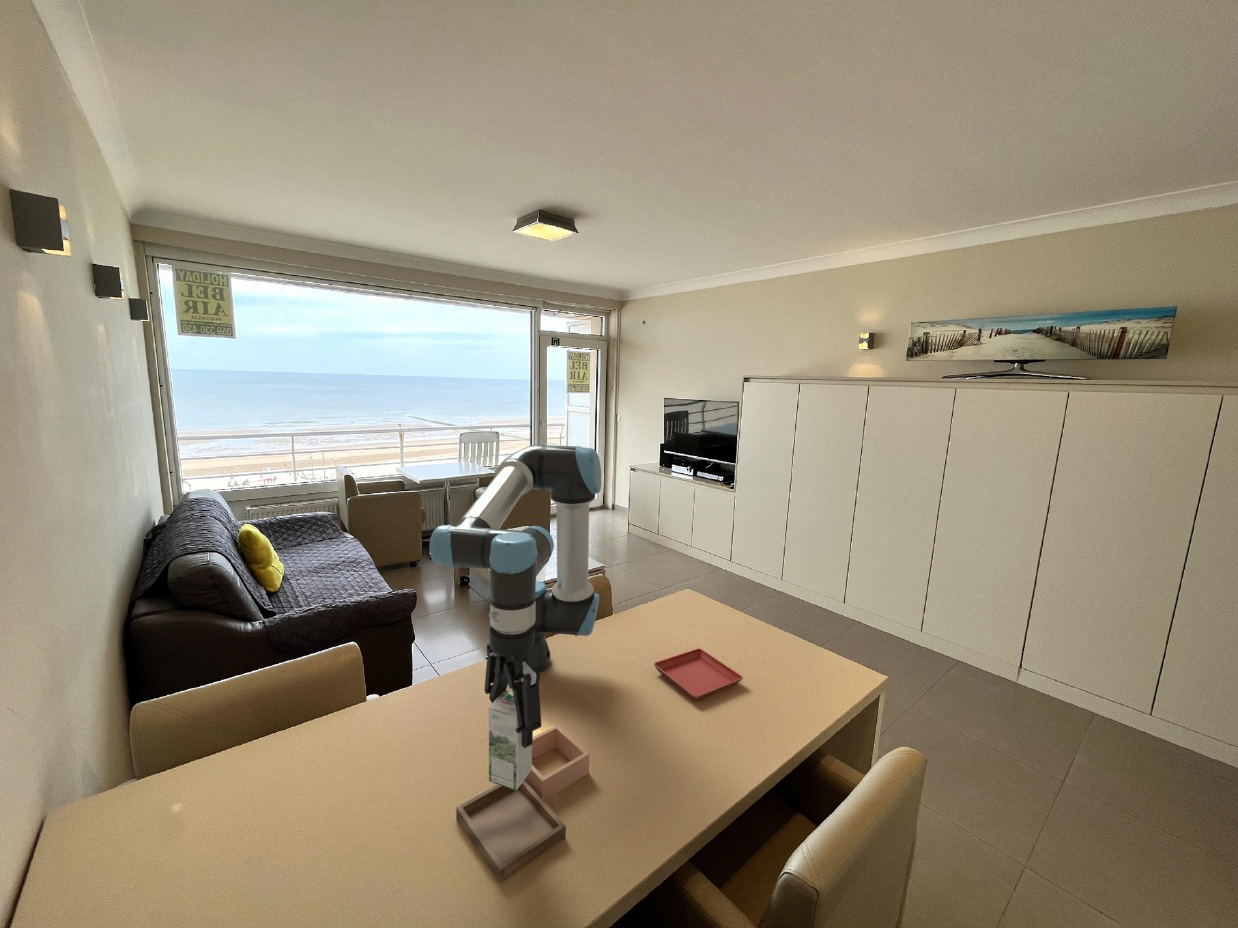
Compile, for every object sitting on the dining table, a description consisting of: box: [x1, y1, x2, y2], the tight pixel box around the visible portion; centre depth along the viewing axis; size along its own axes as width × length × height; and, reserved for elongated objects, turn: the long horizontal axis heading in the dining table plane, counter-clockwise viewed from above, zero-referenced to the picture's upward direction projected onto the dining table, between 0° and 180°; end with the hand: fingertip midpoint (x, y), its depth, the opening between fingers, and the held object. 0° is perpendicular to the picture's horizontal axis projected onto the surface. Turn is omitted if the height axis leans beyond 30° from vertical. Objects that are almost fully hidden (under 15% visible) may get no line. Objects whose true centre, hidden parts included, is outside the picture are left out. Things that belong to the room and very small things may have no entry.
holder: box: [524, 724, 591, 802], centre depth 105 cm, size 12×12×4 cm
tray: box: [455, 780, 567, 884], centre depth 91 cm, size 16×13×2 cm
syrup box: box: [488, 690, 533, 790], centre depth 89 cm, size 6×6×14 cm
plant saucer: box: [653, 647, 744, 702], centre depth 141 cm, size 18×18×3 cm
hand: (510, 746), depth 89 cm, fingers closed on syrup box, 8 cm apart
